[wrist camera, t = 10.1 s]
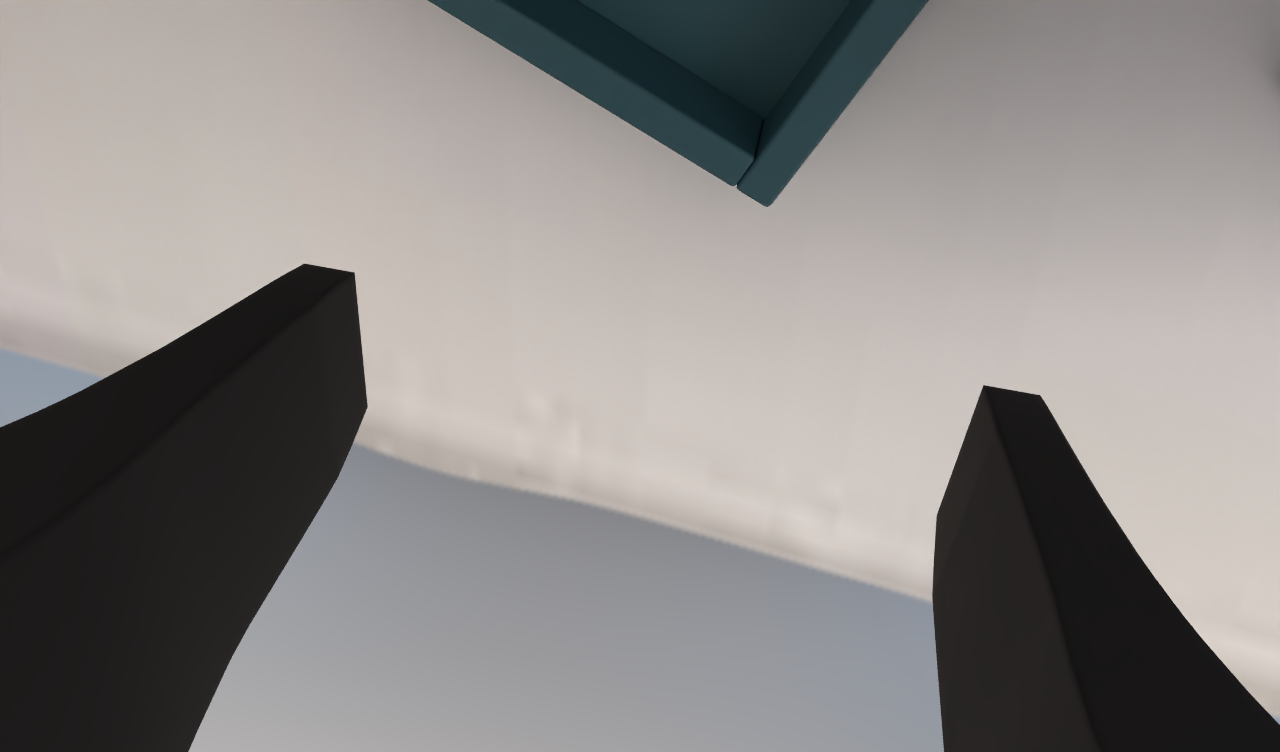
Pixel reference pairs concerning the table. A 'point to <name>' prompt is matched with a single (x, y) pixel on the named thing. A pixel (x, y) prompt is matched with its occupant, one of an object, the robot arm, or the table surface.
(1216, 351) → the table surface
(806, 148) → the tray
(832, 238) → the table surface
